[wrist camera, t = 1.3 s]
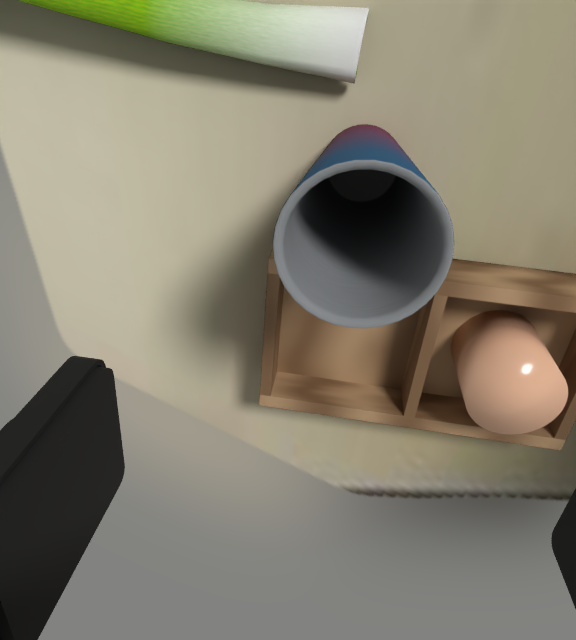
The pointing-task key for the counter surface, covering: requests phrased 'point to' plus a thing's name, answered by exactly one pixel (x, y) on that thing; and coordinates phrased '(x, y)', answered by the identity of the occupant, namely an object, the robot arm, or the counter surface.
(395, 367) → the caddy
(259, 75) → the counter surface
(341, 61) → the leek
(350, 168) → the cup
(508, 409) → the peach capsule shape
